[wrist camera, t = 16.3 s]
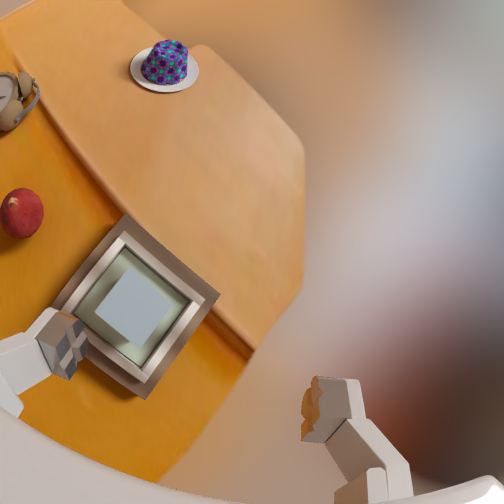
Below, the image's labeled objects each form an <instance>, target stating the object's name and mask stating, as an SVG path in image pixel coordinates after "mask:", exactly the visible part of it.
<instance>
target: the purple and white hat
mask: <svg viewBox="0 0 504 504" xmlns="http://www.w3.org/2000/svg"><path fill="white" fill-rule="evenodd" d="M144 60H145V61H144ZM143 61H144V63H143V64H142V62H143ZM141 64H142V66H141ZM140 67H141V71H143V72H144V77H145V78H146V79H147V80H150V81H154V82H155V83H156V84H158V85H156V84H153V83H151V82H149V81H147V80H146V79H145V78H144V77H143V76H142V74H141V71H140ZM187 69H188V74H187ZM130 70H131V74H132V76H133V78H134V79H135V80H136V81H137V82H138V83H139V84H140V85H142V86H144V87H146V88H148V89H151V90H154V91H159V92H175V91H180V90H183V89H185V88H188V87H189V86H191V85H192V84H193V83H194V82H195V81H196V79H197V77H198V74H199V69H198V65H197V63H196V61H195V60H194V59H193V58H192V57H191V56H190V55H189V54H188V50H187V48H186V47H185V46H183V45H182V43H180V42H178V41H172V40H165V41H160V42H158V43H157V44H156V45H155V46H154V47H151V48H147V49H145V50H143V51H141V52H139V53H138V54H137V55H136V56H135V57H134V58H133V60H132V62H131V65H130ZM186 75H187V76H186ZM185 77H186V78H185ZM184 78H185V79H184ZM180 79H184V80H183V81H182V82H180V83H179V81H180ZM167 83H168V84H171V86H161V85H165V84H167ZM177 83H178V84H177ZM173 84H175V85H173Z"/></svg>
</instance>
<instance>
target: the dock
mask: <svg viewBox="0 0 504 504" xmlns="http://www.w3.org/2000/svg"><path fill="white" fill-rule="evenodd" d="M129 267H130V268H131V269H132V270H133V271H134V272H135V273H136V274H138V275H139V276H140V277H141V278H142V279H143V280H145V281H146V282H147V283H148V284H149V285H151V286H152V287H153V288H154V289H155V290H157V291H158V292H159V293H160V294H161V295H163V296H164V297H165V298H166V299H168V300H169V301H170V302H171V303H173V305H172V306H171V308H170V309H169V310H168V312H167V313H166V314H165V316H164V317H163V318H162V320H161V321H160V322H159V324H158V325H157V326H156V328H155V329H154V331H153V332H152V333H151V335H150V336H149V337H148V339H147V340H146V341H145V343H144V344H143V346H142V347H141V348H140V349H139V348H138V347H137V346H135V345H134V344H133V343H132V342H130V341H129V340H128V339H126V338H125V337H124V336H123V335H121V334H120V333H119V332H118V331H116V330H115V329H114V328H113V327H111V326H110V325H109V324H108V323H107V322H105V321H104V320H103V319H102V318H101V317H100V316H98V315H97V314H96V313H95V311H96V309H97V308H98V307H99V305H100V304H101V303H102V301H103V300H104V299H105V297H106V296H107V295H108V293H109V292H110V291H111V290H112V288H113V287H114V286H115V284H116V283H117V282H118V281H119V279H120V278H121V277H122V276H123V274H124V273H125V272H126V271H127V269H128V268H129ZM220 295H221V294H220V293H219V292H217V291H216V290H215V289H214V288H213V287H211V286H210V285H209V284H208V283H206V282H205V281H204V280H203V279H202V278H200V277H199V276H198V275H197V274H196V273H194V272H193V271H192V270H191V269H190V268H188V267H187V266H186V265H185V264H184V263H183V262H181V261H180V260H179V259H178V258H177V257H175V256H174V255H173V254H172V253H171V252H170V251H168V250H167V249H166V248H165V247H164V246H163V245H162V244H160V243H159V242H158V241H157V240H156V239H155V238H154V237H152V236H151V235H150V234H149V233H148V232H147V231H146V230H144V229H143V228H142V227H141V226H140V225H139V224H138V223H137V222H136V221H134V220H133V219H132V218H131V217H130V216H129V215H128V214H127V213H126V214H125V215H124V216H123V217H122V218H121V219H120V220H119V221H118V223H117V224H116V225H115V226H114V227H113V228H112V229H111V230H110V232H109V233H108V234H107V235H106V236H105V237H104V238H103V240H102V241H101V242H100V243H99V244H98V246H97V247H96V248H95V249H94V250H93V251H92V253H91V254H90V255H89V256H88V258H87V259H86V260H85V261H84V262H83V264H82V265H81V266H80V267H79V269H78V270H77V271H76V273H75V274H74V275H73V276H72V278H71V279H70V280H69V282H68V283H67V284H66V286H65V287H64V288H63V290H62V291H61V292H60V294H59V295H58V296H57V298H56V299H55V301H54V302H53V303H52V305H51V306H50V307H51V308H54V309H56V310H58V311H61V312H63V313H66V314H68V315H70V316H73V317H75V318H78V319H80V320H82V321H83V323H84V327H85V328H84V329H83V332H84V333H85V334H86V335H87V338H88V350H87V354H86V355H85V357H86V358H87V359H88V360H90V361H91V362H92V363H93V364H95V365H96V366H97V367H99V368H100V369H101V370H102V371H104V372H105V373H106V374H108V375H109V376H110V377H112V378H113V379H115V380H116V381H117V382H119V383H120V384H122V385H123V386H124V387H126V388H127V389H129V390H130V391H132V392H133V393H135V394H136V395H138V396H139V397H141V398H142V399H144V400H146V398H147V397H148V395H149V394H150V393H151V391H152V390H153V388H154V387H155V386H156V384H157V383H158V381H159V380H160V379H161V377H162V376H163V374H164V373H165V372H166V370H167V369H168V367H169V366H170V365H171V363H172V362H173V361H174V359H175V358H176V356H177V355H178V354H179V352H180V351H181V349H182V348H183V347H184V345H185V344H186V342H187V341H188V340H189V338H190V337H191V335H192V334H193V333H194V331H195V330H196V328H197V327H198V326H199V324H200V323H201V321H202V320H203V319H204V317H205V316H206V314H207V313H208V312H209V310H210V309H211V307H212V306H213V305H214V303H215V302H216V300H217V299H218V298H219V296H220Z"/></svg>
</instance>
